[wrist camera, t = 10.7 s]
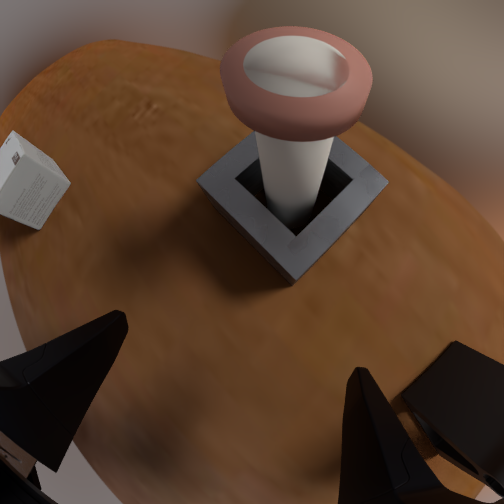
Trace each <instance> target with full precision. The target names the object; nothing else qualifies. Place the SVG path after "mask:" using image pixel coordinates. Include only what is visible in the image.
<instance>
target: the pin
mask: <svg viewBox="0 0 504 504" xmlns="http://www.w3.org/2000/svg"><path fill="white" fill-rule="evenodd" d="M220 75H221V79H222V83H223V86H224V90H225V93H226V97H227V100H228V103H229V106H230V108H231V110H232V112H233V113H234V115H235V116H236V117H237V118H238V119H239V120H240V121H241V122H242V123H244V124H245V125H246V126H248V127H249V128H251V129H252V130H254V131H255V135H256V141H257V147H258V153H259V159H260V165H261V171H262V177H263V183H264V190H265V196H266V202H267V209H268V210H269V211H270V212H271V213H272V214H273V215H274V216H275V217H276V218H277V219H278V220H279V221H280V222H281V223H282V224H283V225H284V226H286V227H287V228H288V229H294V228H298V227H300V226H302V225H304V224H305V223H306V222H307V221H308V220H309V218H310V217H311V214H312V211H313V208H314V204H315V201H316V198H317V195H318V191H319V188H320V184H321V181H322V178H323V174H324V171H325V167H326V164H327V160H328V157H329V153H330V149H331V146H332V142H333V138H334V136H337V135H339V134H341V133H343V132H345V131H347V130H348V129H349V128H351V127H352V126H353V125H354V124H355V123H356V122H357V121H358V119H359V118H360V116H361V114H362V112H363V109H364V106H365V103H366V100H367V97H368V95H369V92H370V89H371V86H372V72H371V68H370V66H369V64H368V62H367V60H366V59H365V58H364V56H363V55H362V54H361V53H360V52H359V51H358V50H357V49H356V48H355V47H353V46H352V45H351V44H349V43H348V42H346V41H345V40H343V39H341V38H339V37H337V36H335V35H333V34H330V33H327V32H324V31H321V30H316V29H311V28H306V27H294V26H293V27H292V26H285V27H274V28H269V29H264V30H260V31H257V32H255V33H252V34H249V35H247V36H245V37H243V38H242V39H240V40H238V41H237V42H236V43H234V44H233V45H232V46H231V47H230V48H229V49H228V50H227V52H226V53H225V54H224V56H223V59H222V61H221V65H220Z"/></svg>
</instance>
